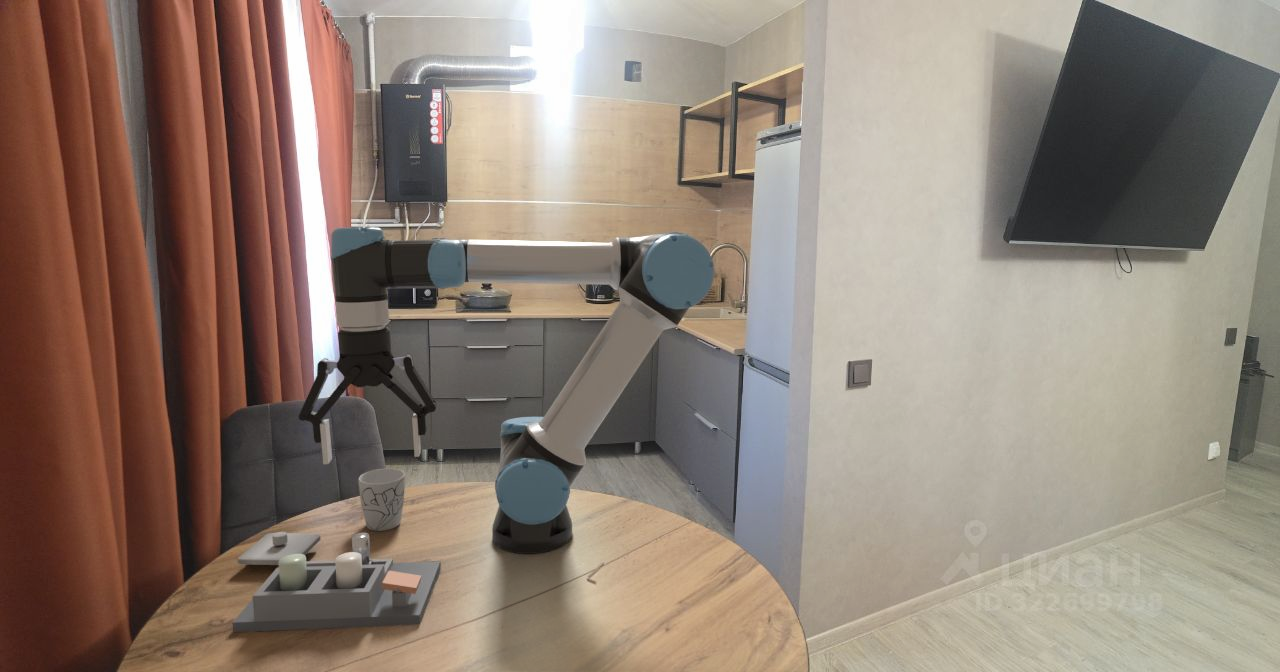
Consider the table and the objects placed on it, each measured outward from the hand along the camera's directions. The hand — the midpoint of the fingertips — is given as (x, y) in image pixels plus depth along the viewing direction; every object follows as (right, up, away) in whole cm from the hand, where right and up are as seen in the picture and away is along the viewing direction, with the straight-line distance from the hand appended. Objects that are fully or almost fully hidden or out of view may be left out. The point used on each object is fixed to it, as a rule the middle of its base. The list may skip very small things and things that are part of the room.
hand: (373, 457), depth 105 cm
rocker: (+7, -18, -6) cm, 20 cm away
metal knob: (-3, -19, +2) cm, 20 cm away
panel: (-3, -22, -2) cm, 22 cm away
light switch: (-20, -20, +9) cm, 29 cm away
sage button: (-9, -18, -8) cm, 21 cm away
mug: (-7, -17, +25) cm, 31 cm away
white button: (-1, -18, -7) cm, 19 cm away
